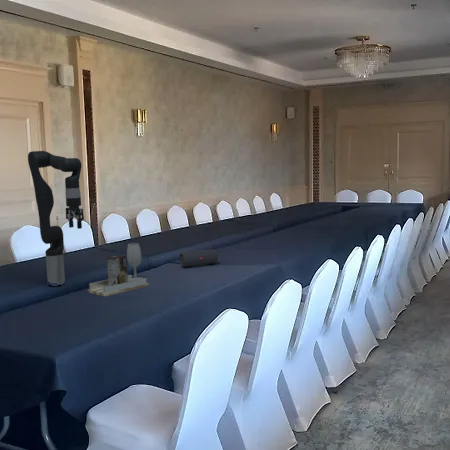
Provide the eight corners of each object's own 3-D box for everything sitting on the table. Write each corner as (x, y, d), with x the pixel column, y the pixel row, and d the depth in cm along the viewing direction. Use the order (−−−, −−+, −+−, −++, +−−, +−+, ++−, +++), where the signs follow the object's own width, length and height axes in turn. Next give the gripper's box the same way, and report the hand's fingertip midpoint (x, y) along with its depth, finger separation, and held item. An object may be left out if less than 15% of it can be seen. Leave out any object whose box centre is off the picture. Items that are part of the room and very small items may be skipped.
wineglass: (143, 281, 312) (141, 244, 310) (127, 282, 311) (125, 245, 308) (143, 278, 321) (141, 242, 318) (128, 279, 319) (125, 243, 317)
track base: (87, 292, 292) (87, 283, 292) (131, 282, 312) (131, 274, 311) (104, 296, 281) (103, 288, 280) (148, 286, 300) (148, 277, 300)
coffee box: (119, 284, 301) (117, 254, 299) (128, 284, 299) (126, 255, 297) (108, 287, 293) (106, 257, 291) (117, 288, 290) (115, 258, 288)
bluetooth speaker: (184, 269, 341) (183, 253, 340) (179, 266, 350) (178, 251, 349) (218, 265, 350) (217, 249, 349) (212, 262, 359) (212, 247, 358)
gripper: (59, 197, 290) (62, 227, 292) (73, 197, 280) (75, 229, 282) (72, 196, 295) (75, 226, 297) (86, 196, 285) (89, 228, 287)
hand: (75, 228), depth 290 cm, fingers open, 8 cm apart
